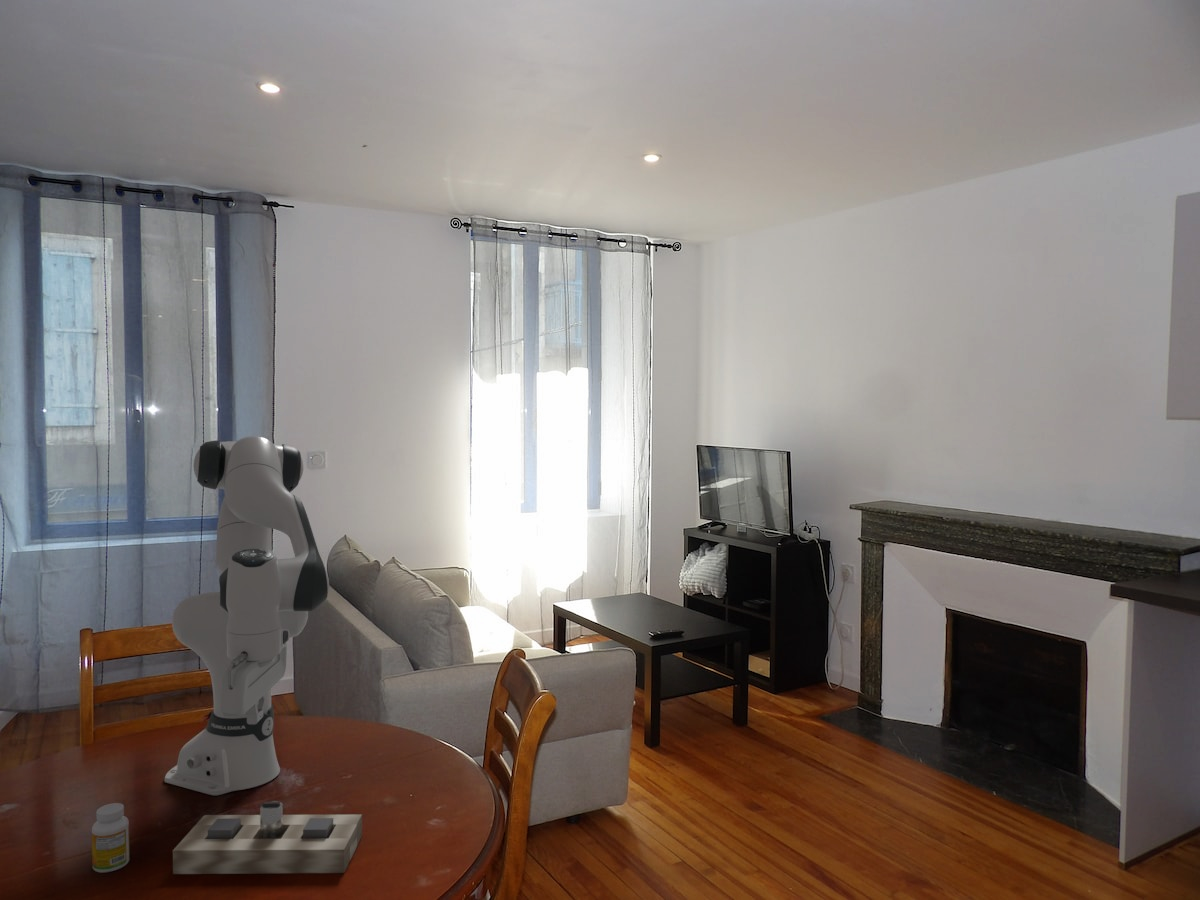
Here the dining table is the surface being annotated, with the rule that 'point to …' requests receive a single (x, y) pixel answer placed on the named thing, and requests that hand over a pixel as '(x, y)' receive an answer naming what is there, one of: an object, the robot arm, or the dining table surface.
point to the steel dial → (271, 820)
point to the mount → (268, 847)
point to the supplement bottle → (110, 838)
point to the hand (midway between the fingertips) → (255, 721)
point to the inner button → (224, 829)
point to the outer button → (318, 828)
